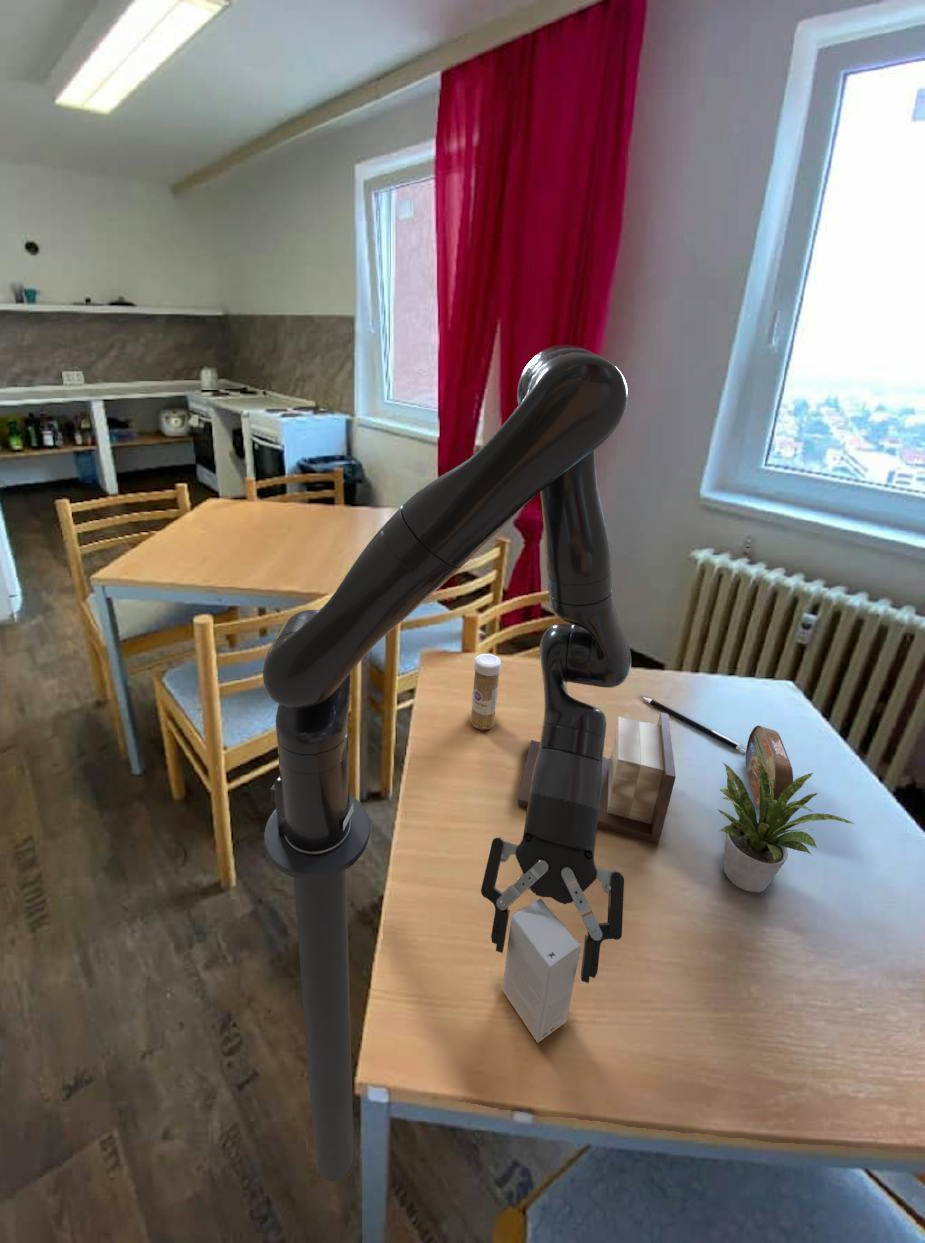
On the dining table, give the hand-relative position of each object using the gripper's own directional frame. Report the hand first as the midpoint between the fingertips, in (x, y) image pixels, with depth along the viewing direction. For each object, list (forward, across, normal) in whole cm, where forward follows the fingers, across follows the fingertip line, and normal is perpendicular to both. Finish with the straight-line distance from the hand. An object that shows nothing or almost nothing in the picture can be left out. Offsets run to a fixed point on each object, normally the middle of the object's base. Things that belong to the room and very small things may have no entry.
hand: (541, 965), depth 59 cm
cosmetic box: (+5, 0, +6) cm, 8 cm away
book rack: (-19, +4, +30) cm, 36 cm away
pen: (-35, +21, +46) cm, 62 cm away
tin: (-26, +30, +37) cm, 54 cm away
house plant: (-13, +26, +24) cm, 38 cm away
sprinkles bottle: (-26, -15, +37) cm, 48 cm away
